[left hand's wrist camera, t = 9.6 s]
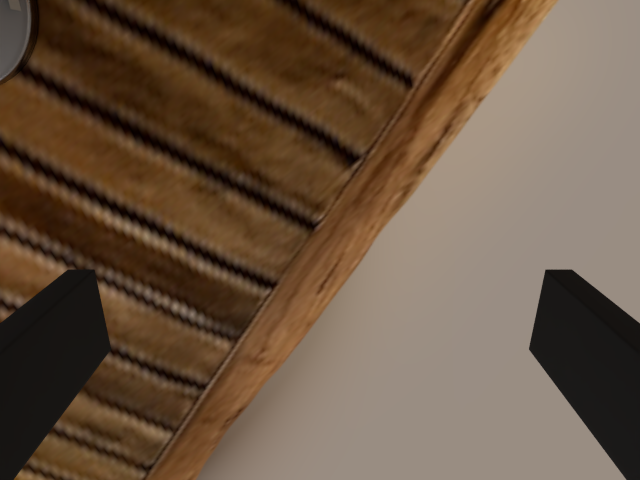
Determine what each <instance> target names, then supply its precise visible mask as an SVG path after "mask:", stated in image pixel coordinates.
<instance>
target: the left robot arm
mask: <svg viewBox="0 0 640 480" xmlns="http://www.w3.org/2000/svg"><path fill="white" fill-rule="evenodd" d="M37 31H38V9H37V2H36V0H0V84H3V83H5V82H6V81H8V80H10V79H11V78H13V77H14V76H15V75H16V74H17V73H18V72H19V71H20V70H21V69H22V68H23V67H24V65H25V64H26V63H27V61H28V59H29V58H30V56H31V53H32V51H33V49H34V45H35V42H36V37H37ZM110 350H111V347H110V342H109V337H108V332H107V327H106V323H105V318H104V313H103V308H102V304H101V299H100V294H99V289H98V284H97V280H96V275H95V270H67V271H66V272H65V273H63V274H62V275H61V276H59V277H58V278H57V279H56V280H54V281H53V282H52V283H51V284H49V285H48V286H47V287H46V288H44V289H43V290H42V291H41V292H39V293H38V294H37V295H36V296H34V297H33V298H32V299H30V300H29V301H28V302H27V303H25V304H24V305H23V306H22V307H20V308H19V309H18V310H17V311H15V312H14V313H13V314H12V315H10V316H9V317H8V318H7V319H5V320H4V321H3V322H1V323H0V480H14V478H15V477H16V476H17V474H18V473H19V472H20V470H21V469H22V468H23V466H24V465H25V464H26V462H27V461H28V460H29V458H30V457H31V456H32V454H33V453H34V452H35V450H36V449H37V448H38V446H39V445H40V444H41V442H42V441H43V440H44V438H45V437H46V435H47V434H48V433H49V431H50V430H51V429H52V427H53V426H54V425H55V423H56V422H57V421H58V419H59V418H60V417H61V415H62V414H63V413H64V411H65V410H66V409H67V407H68V406H69V405H70V403H71V402H72V401H73V399H74V398H75V397H76V395H77V394H78V393H79V391H80V390H81V389H82V387H83V386H84V385H85V383H86V382H87V381H88V379H89V378H90V377H91V375H92V374H93V373H94V371H95V370H96V369H97V367H98V366H99V365H100V363H101V362H102V361H103V359H104V358H105V357H106V355H107V354H108V353H109V351H110ZM529 350H530V351H531V353H532V354H533V355H534V357H535V358H536V359H537V361H538V362H539V363H540V365H541V366H542V367H543V369H544V370H545V371H546V373H547V374H548V375H549V377H550V378H551V379H552V381H553V382H554V383H555V385H556V386H557V387H558V389H559V390H560V391H561V393H562V394H563V395H564V397H565V398H566V399H567V401H568V402H569V403H570V405H571V406H572V407H573V409H574V410H575V411H576V413H577V414H578V415H579V417H580V418H581V419H582V421H583V422H584V423H585V425H586V426H587V427H588V429H589V430H590V431H591V433H592V434H593V435H594V437H595V438H596V439H597V441H598V442H599V444H600V445H601V446H602V448H603V449H604V450H605V452H606V453H607V454H608V456H609V457H610V458H611V460H612V461H613V462H614V464H615V465H616V466H617V468H618V469H619V470H620V472H621V473H622V474H623V476H624V477H625V478H626V480H640V323H639V322H637V321H636V320H635V319H633V318H632V317H631V316H630V315H628V314H627V313H626V312H625V311H623V310H622V309H621V308H620V307H618V306H617V305H616V304H615V303H613V302H612V301H611V300H610V299H608V298H607V297H606V296H604V295H603V294H602V293H601V292H599V291H598V290H597V289H596V288H594V287H593V286H592V285H591V284H589V283H588V282H587V281H586V280H584V279H583V278H582V277H581V276H579V275H578V274H577V273H575V272H574V271H573V270H545V275H544V280H543V285H542V289H541V294H540V299H539V304H538V308H537V313H536V318H535V323H534V327H533V332H532V337H531V342H530V347H529Z"/></svg>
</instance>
